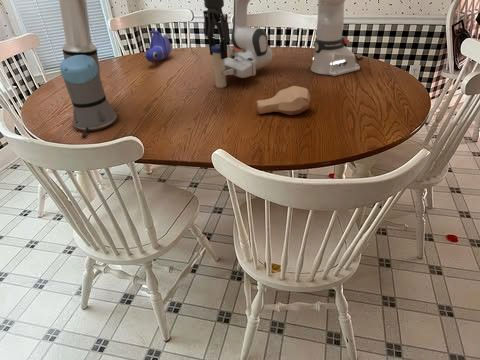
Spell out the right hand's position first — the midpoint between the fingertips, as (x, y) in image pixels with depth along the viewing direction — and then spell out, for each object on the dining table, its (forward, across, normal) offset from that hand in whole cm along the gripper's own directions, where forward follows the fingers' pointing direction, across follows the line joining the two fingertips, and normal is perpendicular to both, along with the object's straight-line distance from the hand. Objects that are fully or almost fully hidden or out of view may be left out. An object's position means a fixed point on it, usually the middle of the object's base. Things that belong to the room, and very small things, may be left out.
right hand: (218, 71), depth 152 cm
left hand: (-1, 0, -6) cm, 6 cm away
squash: (0, +38, +6) cm, 39 cm away
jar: (-1, 0, +6) cm, 6 cm away
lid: (-1, 0, -10) cm, 10 cm away
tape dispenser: (-32, -22, +6) cm, 39 cm away
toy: (+1, -52, +6) cm, 52 cm away
